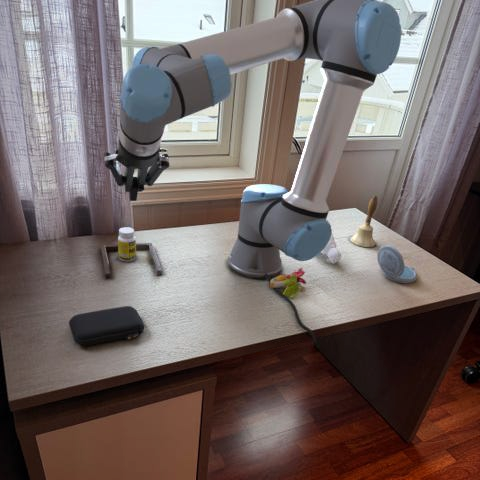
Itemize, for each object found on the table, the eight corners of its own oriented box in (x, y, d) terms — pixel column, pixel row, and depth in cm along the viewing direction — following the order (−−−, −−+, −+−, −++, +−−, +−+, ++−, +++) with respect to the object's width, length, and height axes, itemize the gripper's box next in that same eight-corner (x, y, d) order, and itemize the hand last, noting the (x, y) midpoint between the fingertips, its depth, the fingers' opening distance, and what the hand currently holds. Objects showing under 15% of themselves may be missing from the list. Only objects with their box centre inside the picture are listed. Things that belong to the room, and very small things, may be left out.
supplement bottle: (131, 263, 121) (130, 235, 117) (115, 259, 122) (113, 231, 117) (139, 256, 125) (138, 228, 120) (124, 252, 126) (122, 225, 121)
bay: (161, 275, 118) (161, 270, 117) (105, 278, 114) (105, 273, 113) (152, 247, 130) (152, 242, 130) (100, 249, 126) (100, 244, 125)
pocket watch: (378, 239, 126) (412, 232, 133) (368, 273, 132) (401, 264, 140) (406, 255, 119) (440, 246, 127) (393, 289, 126) (427, 279, 133)
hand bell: (346, 241, 149) (358, 195, 140) (355, 234, 155) (368, 189, 146) (369, 249, 146) (383, 203, 136) (378, 242, 152) (392, 197, 142)
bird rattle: (264, 278, 114) (300, 276, 111) (273, 261, 123) (305, 259, 120) (268, 299, 117) (302, 298, 114) (275, 282, 126) (307, 280, 123)
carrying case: (77, 354, 90) (148, 339, 96) (76, 342, 88) (148, 328, 94) (68, 324, 97) (134, 312, 103) (66, 313, 95) (134, 301, 101)
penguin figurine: (327, 222, 138) (352, 242, 130) (320, 246, 143) (343, 266, 136) (311, 224, 135) (335, 245, 127) (304, 248, 140) (327, 269, 133)
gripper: (105, 157, 79) (105, 211, 101) (177, 159, 83) (162, 210, 105) (101, 118, 80) (101, 180, 102) (173, 122, 84) (158, 180, 106)
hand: (132, 195), depth 103 cm, fingers closed
